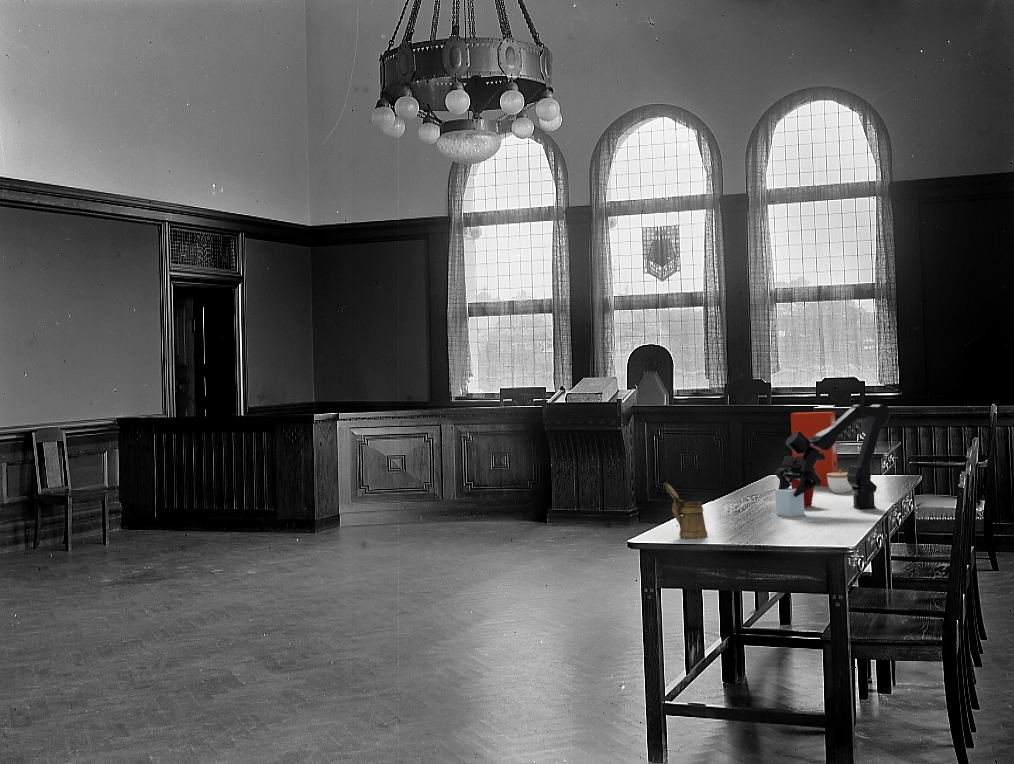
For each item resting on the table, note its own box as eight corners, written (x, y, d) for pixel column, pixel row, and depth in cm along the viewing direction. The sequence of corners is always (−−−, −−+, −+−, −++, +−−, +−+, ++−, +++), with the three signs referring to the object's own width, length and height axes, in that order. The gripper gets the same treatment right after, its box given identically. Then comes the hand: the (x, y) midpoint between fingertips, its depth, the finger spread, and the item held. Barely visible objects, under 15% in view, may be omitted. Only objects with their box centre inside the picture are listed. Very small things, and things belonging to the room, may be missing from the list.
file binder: (799, 483, 489) (796, 412, 488) (838, 484, 479) (835, 411, 479) (793, 485, 482) (790, 413, 481) (832, 486, 472) (829, 412, 472)
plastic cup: (820, 507, 411) (818, 476, 411) (790, 508, 413) (789, 476, 413) (817, 504, 421) (816, 473, 421) (788, 504, 424) (787, 473, 423)
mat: (813, 516, 391) (813, 515, 391) (839, 519, 380) (839, 518, 380) (789, 520, 385) (789, 518, 385) (814, 523, 374) (814, 522, 374)
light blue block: (790, 514, 400) (789, 488, 400) (804, 515, 394) (803, 489, 394) (776, 516, 396) (775, 490, 396) (790, 517, 390) (788, 491, 390)
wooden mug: (669, 534, 368) (667, 480, 368) (709, 534, 363) (707, 480, 363) (663, 538, 360) (661, 484, 359) (704, 538, 355) (702, 483, 354)
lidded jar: (826, 493, 450) (825, 471, 450) (829, 490, 460) (828, 468, 459) (853, 493, 446) (852, 471, 445) (855, 490, 456) (854, 468, 455)
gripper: (776, 446, 405) (756, 479, 400) (814, 449, 389) (793, 482, 383) (793, 466, 409) (773, 498, 404) (831, 468, 393) (810, 502, 387)
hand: (786, 495), depth 394 cm, fingers open, 8 cm apart
